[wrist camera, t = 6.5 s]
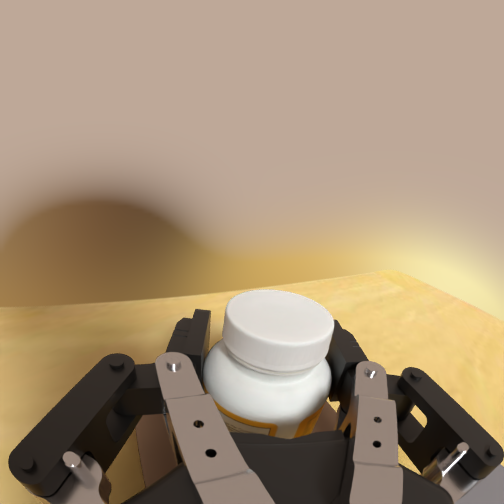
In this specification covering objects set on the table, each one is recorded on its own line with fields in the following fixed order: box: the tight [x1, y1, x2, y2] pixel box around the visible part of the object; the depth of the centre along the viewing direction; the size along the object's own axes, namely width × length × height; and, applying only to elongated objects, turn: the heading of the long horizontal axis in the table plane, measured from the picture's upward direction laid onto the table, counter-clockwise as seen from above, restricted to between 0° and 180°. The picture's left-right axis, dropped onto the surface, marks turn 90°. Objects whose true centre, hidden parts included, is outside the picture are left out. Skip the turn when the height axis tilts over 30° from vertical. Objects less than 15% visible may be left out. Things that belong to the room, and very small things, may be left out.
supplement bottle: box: [202, 289, 334, 439], centre depth 11 cm, size 5×5×10 cm
